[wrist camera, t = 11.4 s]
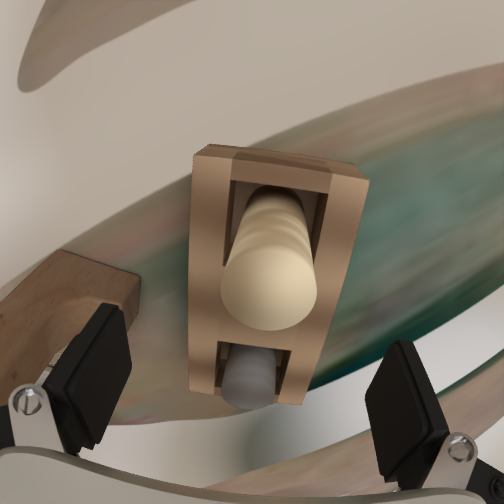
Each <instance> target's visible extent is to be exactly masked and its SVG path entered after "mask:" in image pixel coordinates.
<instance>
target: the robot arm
mask: <svg viewBox="0 0 504 504" xmlns="http://www.w3.org/2000/svg"><path fill="white" fill-rule="evenodd" d="M131 369H132V362H131V356H130V351H129V345H128V338H127V332H126V325H125V318H124V312H123V311H122V310H120V309H119V306H118V305H114V304H109V303H105V302H103V303H101V304H100V306H99V307H98V308H97V310H96V311H95V313H94V314H93V315H92V317H91V318H90V319H89V321H88V322H87V324H86V325H85V327H84V328H83V329H82V331H81V332H80V334H77V335H76V336H75V337H74V338H73V339H72V341H71V342H70V343H69V345H68V346H67V348H66V349H65V351H64V352H63V354H62V355H61V357H60V358H59V360H58V361H57V363H56V364H55V366H54V367H53V368H51V367H48V366H47V367H46V368H45V370H44V371H43V373H42V374H41V376H40V377H39V379H38V381H37V382H36V384H24V385H21V386H19V387H17V388H16V389H15V390H14V391H13V392H12V393H11V395H10V397H9V404H7V405H4V406H0V504H504V473H502V472H500V471H498V470H497V469H495V468H493V467H492V466H490V465H488V464H486V463H485V462H483V461H482V460H480V459H478V458H477V455H478V450H477V446H476V444H475V442H474V440H473V439H472V438H471V437H470V436H468V435H467V434H464V433H460V432H455V433H452V434H450V432H449V428H448V425H447V422H446V420H445V417H444V415H443V412H442V409H441V407H440V404H439V402H438V399H437V397H436V394H435V392H434V389H433V387H432V385H431V383H430V380H429V378H428V375H427V373H426V371H425V368H424V366H423V364H422V362H421V359H420V357H419V355H418V353H417V351H416V348H415V346H414V344H413V342H412V341H410V340H396V341H395V342H394V344H390V346H389V348H388V350H387V352H386V354H385V356H384V358H383V360H382V362H381V364H380V366H379V368H378V370H377V372H376V374H375V376H374V378H373V380H372V382H371V384H370V386H369V388H368V389H367V391H366V394H365V403H366V408H367V412H368V417H369V421H370V426H371V431H372V436H373V441H374V446H375V451H376V456H377V461H378V467H379V472H380V474H381V475H382V476H384V480H385V483H387V482H395V481H398V486H399V488H398V489H397V491H396V492H390V493H381V494H369V495H358V496H342V497H275V496H259V495H247V494H237V493H228V492H221V491H213V490H207V489H200V488H194V487H189V486H183V485H178V484H173V483H168V482H164V481H159V480H155V479H151V478H147V477H143V476H139V475H135V474H131V473H128V472H124V471H121V470H117V469H113V468H110V467H107V466H104V465H101V464H97V463H94V462H91V461H88V460H86V459H82V458H80V456H79V454H78V453H79V452H80V450H81V448H82V447H85V448H87V449H90V450H93V448H94V445H95V444H99V443H100V442H101V440H102V437H103V435H104V432H105V430H106V428H107V425H108V423H109V421H110V418H111V416H112V414H113V411H114V409H115V407H116V404H117V402H118V400H119V397H120V395H121V393H122V391H123V388H124V386H125V384H126V382H127V380H128V377H129V375H130V373H131Z"/></svg>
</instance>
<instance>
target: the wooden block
mask: <svg viewBox="0 0 504 504" xmlns="http://www.w3.org/2000/svg"><path fill="white" fill-rule="evenodd" d="M139 292H140V277H139V276H138V275H135V274H132V273H129V272H125V271H122V270H119V269H116V268H113V267H110V266H107V265H104V264H101V263H98V262H95V261H92V260H89V259H86V258H83V257H80V256H77V255H75V254H72V253H69V252H66V251H63V250H57V251H55V252H54V253H53V254H52V255H51V256H50V257H49V258H47V259H46V260H45V261H44V262H43V263H42V264H41V265H40V266H38V267H37V268H36V269H35V270H34V271H33V272H32V273H31V274H30V275H29V276H27V277H26V278H25V279H24V280H23V281H22V282H21V283H20V284H19V285H18V286H17V287H16V288H15V289H14V290H13V291H12V292H11V293H10V294H9V295H8V296H7V297H6V298H5V299H4V300H3V301H2V302H1V303H0V406H4V405H7V404H9V397H10V395H11V393H12V392H13V391H14V390H15V389H16V388H17V387H19V386H21V385H24V384H36V382H37V381H38V379H39V377H40V376H41V374H42V373H43V371H44V370H45V368H46V367H47V366H48V364H49V363H50V361H51V360H52V358H53V357H54V355H55V354H56V353H57V352H58V351H60V350H61V349H62V348H63V347H64V346H66V345H67V344H68V343H69V342H70V341H72V339H73V338H74V337H75V336H76V335H77V334H80V332H81V331H82V329H83V328H84V327H85V325H86V324H87V322H88V321H89V319H90V318H91V317H92V315H93V314H94V313H95V311H96V310H97V308H98V307H99V306H100V304H101V303H103V302H105V303H109V304H114V305H118V306H119V309H120V310H122V311H123V312H124V318H125V325H126V332H127V331H128V330H129V328H130V326H131V324H132V323H133V321H134V319H135V317H136V316H137V314H138V304H139Z"/></svg>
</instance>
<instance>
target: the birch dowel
mask: <svg viewBox="0 0 504 504" xmlns="http://www.w3.org/2000/svg"><path fill="white" fill-rule="evenodd" d="M220 289H221V298H222V301H223V303H224V305H225V307H226V309H227V310H228V312H229V313H230V314H231V315H232V316H233V317H234V318H235V319H236V320H238V321H239V322H241V323H242V324H244V325H246V326H249V327H251V328H254V329H258V330H266V331H275V330H281V329H286V328H288V327H291V326H293V325H295V324H297V323H299V322H300V321H302V320H303V319H304V318H305V317H306V316H307V315H308V314H309V313H310V311H311V310H312V308H313V306H314V304H315V301H316V296H317V287H316V280H315V273H314V267H313V261H312V254H311V248H310V242H309V236H308V230H307V224H306V219H305V213H304V208H303V203H302V201H301V199H300V197H299V195H298V194H297V193H296V192H295V191H294V190H293V189H291V188H288V187H282V186H275V185H264V186H261V187H259V188H258V189H256V190H255V191H254V192H253V193H252V194H251V195H250V197H249V199H248V201H247V204H246V207H245V210H244V213H243V216H242V219H241V222H240V225H239V228H238V231H237V234H236V237H235V241H234V244H233V247H232V250H231V253H230V256H229V259H228V262H227V265H226V268H225V272H224V275H223V278H222V281H221V287H220Z"/></svg>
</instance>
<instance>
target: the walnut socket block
mask: <svg viewBox="0 0 504 504" xmlns="http://www.w3.org/2000/svg"><path fill="white" fill-rule="evenodd" d="M264 185H275V186H282V187H288V188H291V189H293V190H294V191H295V192H296V193H297V194H298V195H299V197H300V199H301V201H302V203H303V208H304V213H305V219H306V224H307V230H308V236H309V242H310V248H311V254H312V261H313V267H314V273H315V280H316V287H317V296H316V301H315V304H314V306H313V308H312V310H311V311H310V313H309V314H308V315H307V316H306V317H305V318H304V319H303V320H302V321H300V322H299V323H297V324H295V325H293V326H291V327H288V328H286V329H281V330H275V331H266V330H258V329H254V328H251V327H249V326H246V325H244V324H242V323H241V322H239V321H238V320H236V319H235V318H234V317H233V316H232V315H231V314H230V313H229V312H228V310H227V309H226V307H225V305H224V303H223V301H222V298H221V289H220V287H221V281H222V278H223V275H224V272H225V268H226V265H227V262H228V259H229V256H230V253H231V250H232V247H233V244H234V241H235V237H236V234H237V231H238V228H239V225H240V222H241V219H242V216H243V213H244V210H245V207H246V204H247V201H248V199H249V197H250V195H251V194H252V193H253V192H254V191H255V190H256V189H258V188H259V187H261V186H264ZM368 186H369V180H368V179H367V178H366V177H365V176H364V175H363V174H362V173H361V172H360V171H359V170H358V169H357V168H356V167H355V166H354V165H353V164H348V163H343V162H338V161H332V160H327V159H321V158H315V157H309V156H303V155H297V154H290V153H283V152H276V151H269V150H261V149H253V148H245V147H236V146H227V145H216V144H209V145H207V146H206V147H204V148H203V149H201V150H200V151H199V152H197V153H196V154H194V156H193V170H192V187H191V206H190V231H189V267H188V356H189V390H190V391H195V392H201V393H206V394H212V395H218V396H222V397H223V399H224V400H225V401H226V402H228V403H229V404H231V405H233V406H235V407H238V408H241V409H251V410H252V409H260V408H263V407H266V406H268V405H269V404H270V403H281V404H292V405H302V402H303V400H304V397H305V394H306V392H307V389H308V387H309V384H310V381H311V379H312V376H313V373H314V370H315V368H316V365H317V362H318V359H319V356H320V354H321V351H322V348H323V345H324V342H325V339H326V336H327V333H328V330H329V327H330V324H331V321H332V318H333V315H334V312H335V308H336V305H337V302H338V299H339V296H340V292H341V289H342V286H343V282H344V279H345V275H346V272H347V268H348V265H349V261H350V258H351V254H352V250H353V247H354V243H355V239H356V235H357V231H358V228H359V224H360V220H361V216H362V211H363V207H364V203H365V199H366V194H367V190H368Z"/></svg>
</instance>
